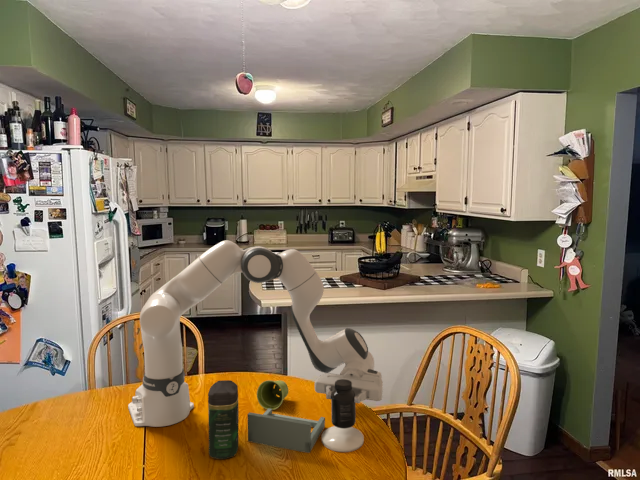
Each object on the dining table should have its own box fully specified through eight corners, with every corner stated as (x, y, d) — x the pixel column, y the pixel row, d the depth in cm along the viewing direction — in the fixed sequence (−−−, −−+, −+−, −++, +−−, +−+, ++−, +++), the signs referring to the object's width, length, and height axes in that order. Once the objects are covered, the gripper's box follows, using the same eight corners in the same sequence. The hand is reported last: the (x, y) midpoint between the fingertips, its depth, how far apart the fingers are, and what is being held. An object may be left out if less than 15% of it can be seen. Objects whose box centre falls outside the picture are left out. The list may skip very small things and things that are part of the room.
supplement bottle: (358, 420, 127) (359, 379, 126) (350, 431, 121) (350, 389, 119) (336, 415, 130) (336, 375, 128) (327, 426, 124) (327, 385, 122)
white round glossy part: (312, 439, 126) (312, 435, 126) (342, 424, 134) (342, 421, 134) (342, 457, 117) (342, 453, 117) (372, 440, 125) (372, 437, 125)
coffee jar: (237, 459, 116) (236, 392, 114) (207, 461, 115) (205, 393, 113) (240, 439, 125) (239, 376, 124) (211, 441, 125) (210, 378, 123)
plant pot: (288, 408, 150) (277, 415, 141) (264, 396, 153) (252, 402, 145) (296, 382, 150) (286, 387, 141) (272, 371, 153) (262, 375, 145)
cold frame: (268, 417, 138) (268, 392, 137) (324, 426, 133) (324, 401, 132) (247, 441, 125) (247, 414, 124) (309, 453, 119) (309, 424, 118)
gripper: (321, 365, 139) (307, 383, 126) (386, 372, 133) (378, 392, 120) (321, 384, 140) (307, 404, 127) (386, 392, 134) (378, 414, 121)
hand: (342, 398), depth 124 cm, fingers closed on supplement bottle, 7 cm apart
